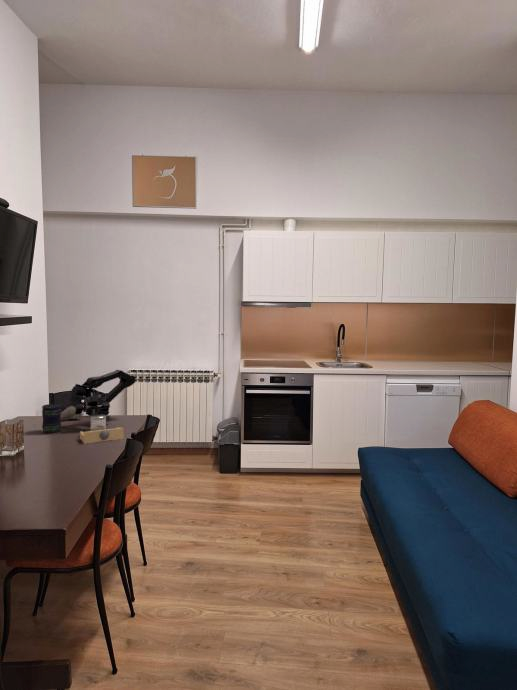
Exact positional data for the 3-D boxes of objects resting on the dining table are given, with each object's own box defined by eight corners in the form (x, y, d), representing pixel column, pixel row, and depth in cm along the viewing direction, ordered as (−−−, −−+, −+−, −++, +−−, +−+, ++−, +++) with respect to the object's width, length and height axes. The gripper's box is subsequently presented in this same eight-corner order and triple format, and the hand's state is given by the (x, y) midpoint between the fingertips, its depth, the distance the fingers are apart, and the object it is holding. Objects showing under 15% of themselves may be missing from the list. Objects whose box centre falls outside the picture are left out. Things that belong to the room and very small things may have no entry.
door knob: (82, 434, 270) (82, 414, 269) (107, 431, 277) (107, 412, 276) (87, 440, 258) (87, 420, 257) (114, 437, 265) (114, 417, 264)
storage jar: (56, 434, 267) (56, 407, 266) (39, 434, 268) (38, 407, 266) (64, 429, 277) (64, 404, 276) (47, 429, 278) (46, 403, 276)
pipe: (67, 433, 299) (87, 418, 307) (64, 426, 292) (84, 411, 300) (50, 418, 304) (70, 403, 312) (47, 410, 297) (67, 395, 305)
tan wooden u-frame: (80, 438, 259) (79, 428, 259) (118, 434, 270) (118, 423, 270) (84, 444, 250) (84, 432, 250) (123, 439, 261) (123, 428, 260)
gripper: (75, 391, 271) (79, 414, 263) (109, 388, 281) (114, 411, 273) (72, 402, 279) (76, 425, 270) (105, 399, 288) (110, 421, 280)
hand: (94, 420), depth 273 cm, fingers closed
